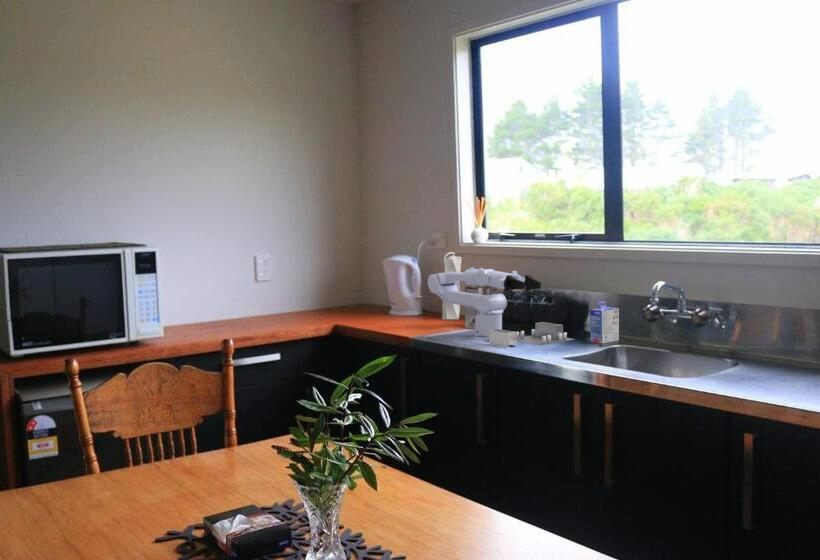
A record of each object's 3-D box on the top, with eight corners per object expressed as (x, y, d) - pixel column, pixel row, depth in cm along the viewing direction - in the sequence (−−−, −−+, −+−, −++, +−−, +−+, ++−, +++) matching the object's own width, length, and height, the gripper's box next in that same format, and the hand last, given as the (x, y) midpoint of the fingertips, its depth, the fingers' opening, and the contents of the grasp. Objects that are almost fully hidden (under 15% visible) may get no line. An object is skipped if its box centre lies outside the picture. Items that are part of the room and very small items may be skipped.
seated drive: (535, 337, 279) (535, 322, 279) (542, 335, 282) (542, 321, 281) (555, 340, 273) (555, 325, 272) (562, 339, 275) (562, 324, 275)
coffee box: (476, 324, 315) (476, 284, 314) (490, 326, 311) (490, 285, 310) (464, 327, 308) (464, 286, 306) (478, 329, 304) (478, 287, 302)
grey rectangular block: (489, 344, 272) (489, 329, 271) (497, 343, 274) (497, 328, 274) (508, 348, 265) (509, 333, 264) (517, 346, 267) (517, 331, 267)
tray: (507, 342, 275) (507, 332, 274) (541, 336, 286) (541, 327, 286) (541, 348, 263) (541, 337, 263) (575, 342, 275) (575, 332, 275)
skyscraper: (442, 317, 338) (442, 252, 335) (461, 317, 337) (462, 252, 335) (441, 320, 330) (441, 253, 327) (461, 320, 329) (461, 253, 326)
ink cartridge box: (606, 341, 277) (606, 299, 276) (619, 343, 273) (620, 301, 271) (588, 344, 271) (589, 302, 269) (602, 346, 266) (603, 303, 265)
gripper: (489, 269, 273) (518, 274, 262) (519, 269, 282) (548, 273, 271) (488, 289, 274) (516, 295, 263) (517, 288, 283) (546, 294, 272)
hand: (532, 285), depth 267 cm, fingers open, 7 cm apart
